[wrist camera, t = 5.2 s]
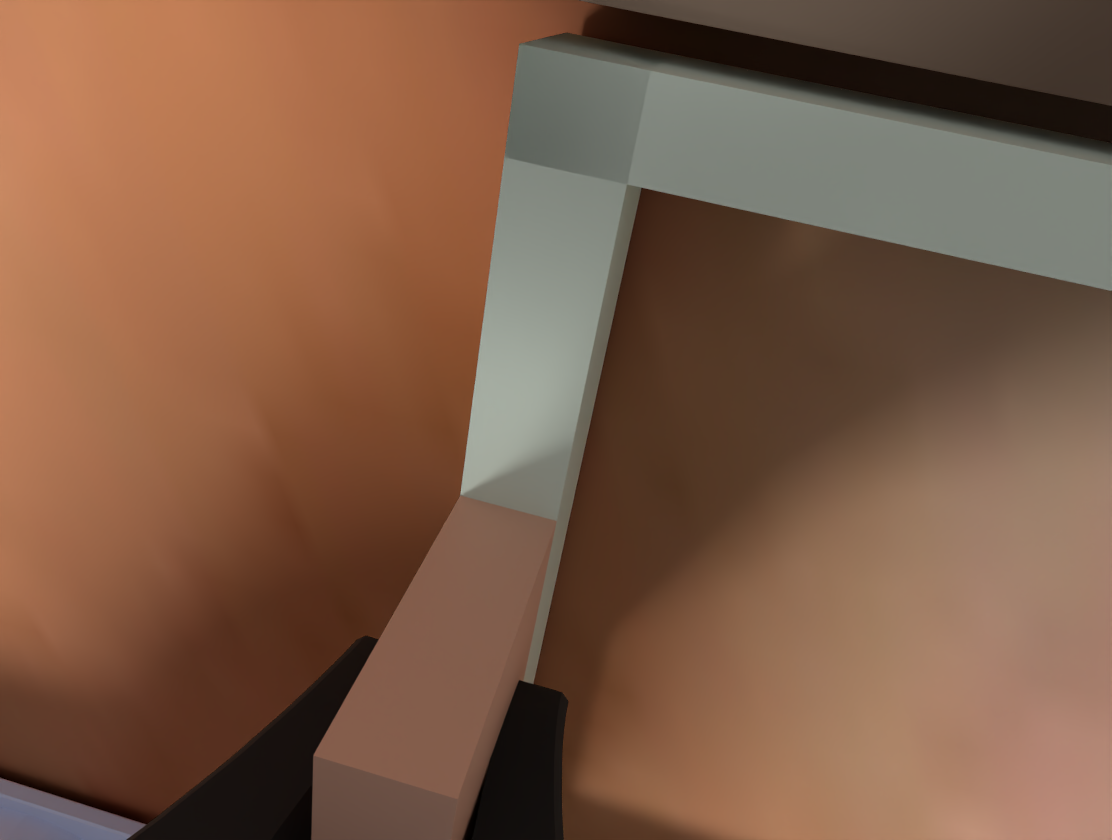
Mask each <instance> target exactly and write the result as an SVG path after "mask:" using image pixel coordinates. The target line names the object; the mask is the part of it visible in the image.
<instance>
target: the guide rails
mask: <svg viewBox="0 0 1112 840" xmlns="http://www.w3.org/2000/svg"><path fill="white" fill-rule="evenodd" d="M580 1H585V2H590V3H595V4H600V5H605V6H610V7H615V8H620V9H625V10H630V11H635V12H640V13H645V14H650V15H655V16H661V17H666V18H671V19H676V20H681V21H686V22H691V23H696V24H701V25H706V26H711V27H716V28H721V29H726V30H731V31H736V32H741V33H746V34H751V35H756V36H761V37H767V38H772V39H777V40H782V41H787V42H792V43H797V44H802V45H807V46H812V47H817V48H822V49H827V50H832V51H837V52H842V53H847V54H852V55H857V56H862V57H867V58H873V59H878V60H883V61H888V62H893V63H898V64H903V65H908V66H913V67H918V68H923V69H928V70H933V71H938V72H943V73H948V74H953V75H958V76H963V77H968V78H973V79H979V80H984V81H989V82H994V83H999V84H1004V85H1009V86H1014V87H1019V88H1024V89H1029V90H1034V91H1039V92H1044V93H1049V94H1054V95H1059V96H1064V97H1069V98H1074V99H1079V100H1084V101H1090V102H1095V103H1100V104H1105V105H1110V106H1112V0H580Z"/></svg>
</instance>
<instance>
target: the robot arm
mask: <svg viewBox="0 0 1112 840" xmlns="http://www.w3.org/2000/svg"><path fill="white" fill-rule="evenodd" d="M378 640H379V639H375V638H372V637H368V636H364V637H362V638H360V639H357V640H356V641H355V642H354V643H353V644H352V645H351V646H350V648H349V649H348V650H347V651H346V652H345V653H344V654H343V655H342V656H341V657H340V658H339V659H338V660H337V661H336V662H335V663H334V664H333V665H332V666H331V667H330V668H329V669H328V670H327V671H326V672H325V673H324V674H323V675H322V676H321V677H320V678H319V679H318V680H316V681H315V682H314V683H313V684H312V685H311V686H310V687H309V688H308V689H307V690H306V691H305V692H304V693H303V694H302V695H301V696H300V697H298V698H297V699H296V700H295V701H294V702H293V703H292V704H291V705H290V706H289V707H288V708H287V709H286V710H284V711H283V712H282V713H281V714H280V715H279V716H278V717H277V718H276V719H274V720H273V721H272V722H271V723H270V724H269V725H268V726H266V727H265V728H264V729H263V730H262V731H261V732H260V733H258V734H257V735H256V736H255V737H254V738H253V739H252V740H250V741H249V742H248V743H247V744H246V745H245V746H244V747H242V748H241V749H240V750H239V751H238V752H237V753H235V754H234V755H233V756H232V757H231V758H230V759H228V760H227V761H226V762H225V763H224V764H222V765H221V766H220V767H219V768H218V769H216V770H215V771H214V772H213V773H211V774H210V775H209V776H208V777H206V778H205V779H204V780H203V781H201V782H200V783H199V784H198V785H196V786H195V787H194V788H193V789H191V790H190V791H189V792H188V793H186V794H185V795H184V796H183V797H181V798H180V799H179V800H177V801H176V802H175V803H174V804H172V805H171V806H170V807H169V808H167V809H166V810H165V811H164V812H162V813H161V814H160V815H159V816H157V817H156V818H155V819H153V820H152V821H151V822H149V823H148V824H144V823H140V822H137V821H134V820H131V819H128V818H125V817H122V816H119V815H115V814H112V813H109V812H106V811H103V810H100V809H97V808H94V807H90V806H87V805H84V804H81V803H78V802H75V801H72V800H68V799H65V798H62V797H59V796H56V795H53V794H50V793H47V792H43V791H40V790H37V789H34V788H31V787H28V786H25V785H22V784H18V783H15V782H12V781H9V780H6V779H3V778H0V840H311V833H312V790H313V755H314V753H315V752H316V750H317V748H318V746H319V744H320V743H321V741H322V739H323V737H324V736H325V734H326V732H327V730H328V729H329V727H330V725H331V723H332V721H333V720H334V718H335V716H336V714H337V713H338V711H339V709H340V707H341V706H342V704H343V702H344V700H345V698H346V697H347V695H348V693H349V691H350V690H351V688H352V686H353V684H354V683H355V681H356V679H357V677H358V675H359V674H360V672H361V670H362V668H363V667H364V665H365V663H366V661H367V660H368V658H369V656H370V654H371V652H372V651H373V649H374V647H375V645H376V644H377V642H378ZM567 706H568V700H567V699H566V697H565V696H564V694H563V693H562V692H559V691H556V690H552V689H549V688H545V687H542V686H538V685H535V684H531V683H528V682H524V681H521V680H519V682H518V684H517V687H516V689H515V692H514V695H513V697H512V700H511V703H510V705H509V708H508V711H507V714H506V716H505V719H504V722H503V725H502V727H501V730H500V733H499V736H498V738H497V741H496V744H495V747H494V750H493V753H492V755H491V758H490V761H489V766H488V770H487V775H486V779H485V783H484V788H483V792H482V797H481V801H480V805H479V810H478V814H477V819H476V823H475V828H474V832H473V836H472V840H564V838H563V822H562V748H563V734H564V726H565V717H566V711H567Z"/></svg>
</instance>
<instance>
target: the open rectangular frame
mask: <svg viewBox="0 0 1112 840" xmlns="http://www.w3.org/2000/svg"><path fill="white" fill-rule="evenodd" d="M641 188H646V189H650V190H655V191H659V192H664V193H668V194H673V195H678V196H682V197H687V198H691V199H696V200H700V201H705V202H709V203H714V204H718V205H723V206H728V207H732V208H737V209H741V210H746V211H750V212H755V213H759V214H764V215H768V216H773V217H778V218H782V219H787V220H791V221H796V222H800V223H805V224H809V225H814V226H818V227H823V228H828V229H832V230H837V231H841V232H846V233H850V234H855V235H859V236H864V237H868V238H873V239H878V240H882V241H887V242H891V243H896V244H900V245H905V246H909V247H914V248H918V249H923V250H928V251H932V252H937V253H941V254H946V255H950V256H955V257H959V258H964V259H968V260H973V261H978V262H982V263H987V264H991V265H996V266H1000V267H1005V268H1009V269H1014V270H1018V271H1023V272H1028V273H1032V274H1037V275H1041V276H1046V277H1050V278H1055V279H1059V280H1064V281H1068V282H1073V283H1078V284H1082V285H1087V286H1091V287H1096V288H1100V289H1105V290H1109V291H1112V143H1110V142H1105V141H1100V140H1095V139H1090V138H1085V137H1080V136H1075V135H1070V134H1065V133H1060V132H1055V131H1051V130H1046V129H1041V128H1036V127H1031V126H1026V125H1021V124H1016V123H1011V122H1006V121H1001V120H996V119H991V118H986V117H981V116H976V115H972V114H967V113H962V112H957V111H952V110H947V109H942V108H937V107H932V106H927V105H922V104H917V103H912V102H907V101H902V100H897V99H893V98H888V97H883V96H878V95H873V94H868V93H863V92H858V91H853V90H848V89H843V88H838V87H833V86H828V85H823V84H818V83H814V82H809V81H804V80H799V79H794V78H789V77H784V76H779V75H774V74H769V73H764V72H759V71H754V70H749V69H744V68H739V67H734V66H730V65H725V64H720V63H715V62H710V61H705V60H700V59H695V58H690V57H685V56H680V55H675V54H670V53H665V52H660V51H655V50H651V49H646V48H641V47H636V46H631V45H626V44H621V43H616V42H611V41H606V40H601V39H596V38H591V37H586V36H581V35H576V34H572V33H563V34H559V35H554V36H550V37H546V38H542V39H537V40H533V41H529V42H525V43H521V44H519V50H518V58H517V66H516V73H515V81H514V89H513V96H512V104H511V112H510V119H509V127H508V134H507V142H506V150H505V157H504V165H503V173H502V180H501V188H500V196H499V203H498V211H497V219H496V226H495V234H494V241H493V249H492V257H491V264H490V272H489V280H488V287H487V295H486V303H485V310H484V318H483V326H482V333H481V341H480V348H479V356H478V364H477V371H476V379H475V387H474V394H473V402H472V410H471V417H470V425H469V433H468V440H467V448H466V456H465V463H464V471H463V478H462V486H461V494H460V497H459V499H458V500H457V502H456V504H455V506H454V507H453V509H452V511H451V513H450V515H449V516H448V518H447V520H446V522H445V523H444V525H443V527H442V529H441V530H440V532H439V534H438V536H437V538H436V539H435V541H434V543H433V545H432V546H431V548H430V550H429V552H428V553H427V555H426V557H425V559H424V561H423V562H422V564H421V566H420V568H419V569H418V571H417V573H416V575H415V576H414V578H413V580H412V582H411V583H410V585H409V587H408V589H407V591H406V592H405V594H404V596H403V598H402V599H401V601H400V603H399V605H398V606H397V608H396V610H395V612H394V614H393V615H392V617H391V619H390V621H389V622H388V624H387V626H386V628H385V629H384V631H383V633H382V635H381V637H380V638H379V640H378V642H377V644H376V645H375V647H374V649H373V651H372V652H371V654H370V656H369V658H368V660H367V661H366V663H365V665H364V667H363V668H362V670H361V672H360V674H359V675H358V677H357V679H356V681H355V683H354V684H353V686H352V688H351V690H350V691H349V693H348V695H347V697H346V698H345V700H344V702H343V704H342V706H341V707H340V709H339V711H338V713H337V714H336V716H335V718H334V720H333V721H332V723H331V725H330V727H329V729H328V730H327V732H326V734H325V736H324V737H323V739H322V741H321V743H320V744H319V746H318V748H317V750H316V752H315V753H314V755H313V790H312V833H311V840H472V836H473V832H474V828H475V823H476V819H477V814H478V810H479V805H480V801H481V797H482V792H483V788H484V783H485V779H486V775H487V770H488V766H489V761H490V758H491V755H492V753H493V750H494V747H495V744H496V741H497V738H498V736H499V733H500V730H501V727H502V725H503V722H504V719H505V716H506V714H507V711H508V708H509V705H510V703H511V700H512V697H513V695H514V692H515V689H516V687H517V684H518V682H519V680H521V681H524V682H528V683H531V684H534V679H535V674H536V670H537V665H538V661H539V656H540V651H541V647H542V642H543V638H544V633H545V628H546V624H547V619H548V615H549V610H550V606H551V601H552V596H553V592H554V587H555V583H556V578H557V573H558V569H559V564H560V560H561V555H562V550H563V546H564V541H565V537H566V532H567V528H568V523H569V518H570V514H571V509H572V505H573V500H574V495H575V491H576V486H577V482H578V477H579V473H580V468H581V463H582V459H583V454H584V450H585V445H586V440H587V436H588V431H589V427H590V422H591V417H592V413H593V408H594V404H595V399H596V395H597V390H598V385H599V381H600V376H601V372H602V367H603V362H604V358H605V353H606V349H607V344H608V339H609V335H610V330H611V326H612V321H613V317H614V312H615V307H616V303H617V298H618V294H619V289H620V284H621V280H622V275H623V271H624V266H625V261H626V257H627V252H628V248H629V243H630V239H631V234H632V229H633V225H634V220H635V216H636V211H637V206H638V202H639V197H640V193H641Z"/></svg>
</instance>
